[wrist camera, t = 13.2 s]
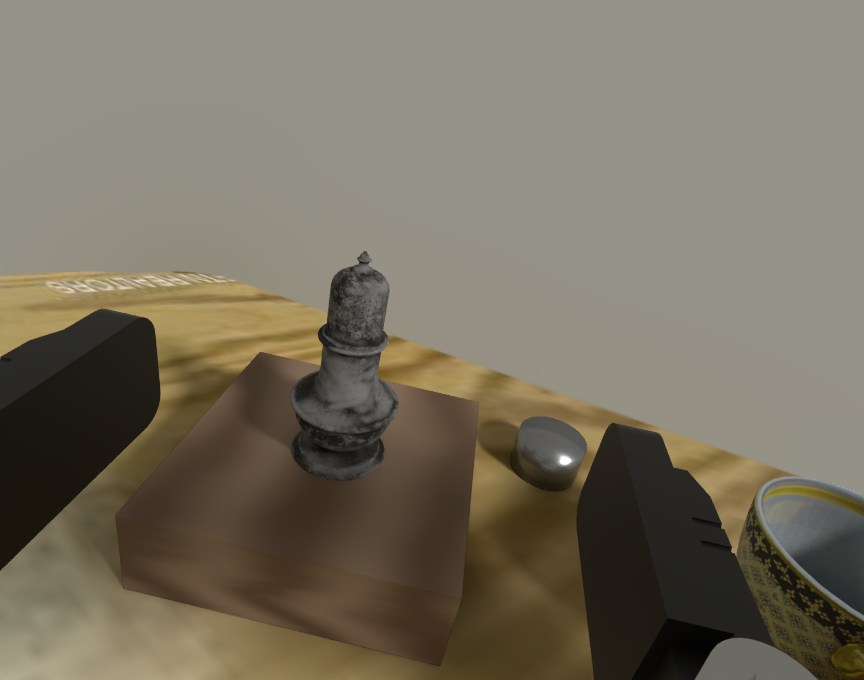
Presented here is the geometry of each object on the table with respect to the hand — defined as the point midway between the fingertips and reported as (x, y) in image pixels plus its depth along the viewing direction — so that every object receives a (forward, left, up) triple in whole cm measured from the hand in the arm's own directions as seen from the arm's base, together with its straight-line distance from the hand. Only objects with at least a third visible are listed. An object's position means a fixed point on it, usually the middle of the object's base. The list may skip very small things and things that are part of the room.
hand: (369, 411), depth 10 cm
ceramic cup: (-21, -11, -20) cm, 31 cm away
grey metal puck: (-10, -26, -20) cm, 34 cm away
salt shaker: (+4, -17, -15) cm, 23 cm away
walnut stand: (+4, -17, -20) cm, 26 cm away
